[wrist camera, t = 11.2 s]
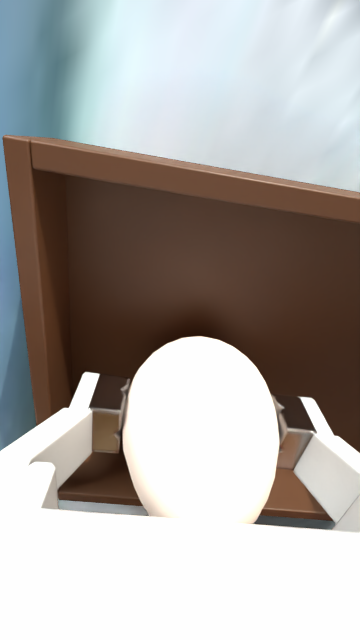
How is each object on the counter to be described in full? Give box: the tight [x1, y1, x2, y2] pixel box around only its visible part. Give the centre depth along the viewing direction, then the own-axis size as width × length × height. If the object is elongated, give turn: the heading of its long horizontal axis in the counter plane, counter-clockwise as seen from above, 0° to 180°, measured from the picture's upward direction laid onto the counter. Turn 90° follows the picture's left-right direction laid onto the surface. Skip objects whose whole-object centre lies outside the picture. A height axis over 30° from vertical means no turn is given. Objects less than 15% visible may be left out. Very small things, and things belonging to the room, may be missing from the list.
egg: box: [122, 336, 280, 524], centre depth 10 cm, size 5×5×7 cm
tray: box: [3, 135, 360, 521], centre depth 12 cm, size 19×14×3 cm
